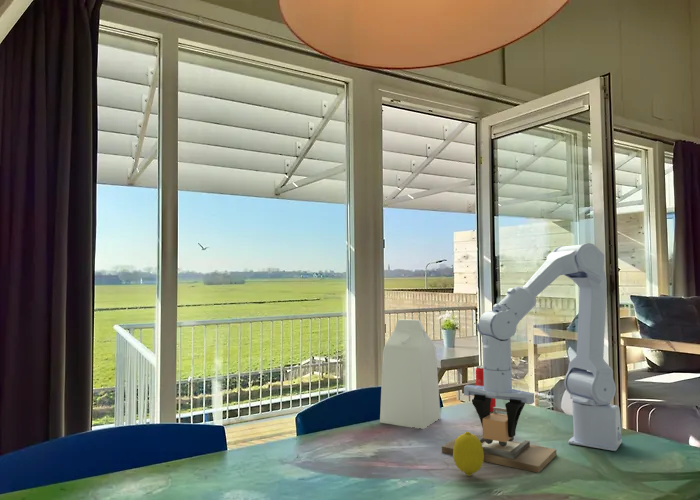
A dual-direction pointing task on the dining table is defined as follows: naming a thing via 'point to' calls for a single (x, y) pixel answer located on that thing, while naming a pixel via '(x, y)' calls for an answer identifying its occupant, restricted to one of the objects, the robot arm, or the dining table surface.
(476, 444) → the lemon
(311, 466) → the dining table surface
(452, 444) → the dock
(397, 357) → the milk
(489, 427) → the toy cart
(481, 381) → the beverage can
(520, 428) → the dining table surface
